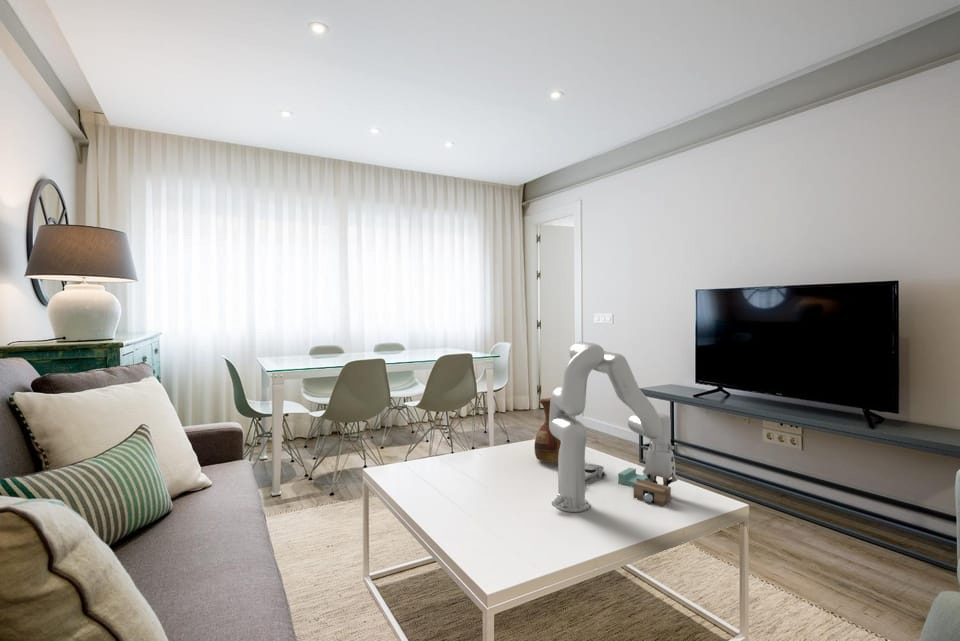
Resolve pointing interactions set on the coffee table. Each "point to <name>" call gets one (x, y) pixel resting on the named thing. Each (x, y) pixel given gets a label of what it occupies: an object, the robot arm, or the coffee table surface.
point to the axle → (648, 497)
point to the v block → (630, 477)
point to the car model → (593, 473)
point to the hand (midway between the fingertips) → (659, 493)
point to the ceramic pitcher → (546, 439)
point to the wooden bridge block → (653, 491)
